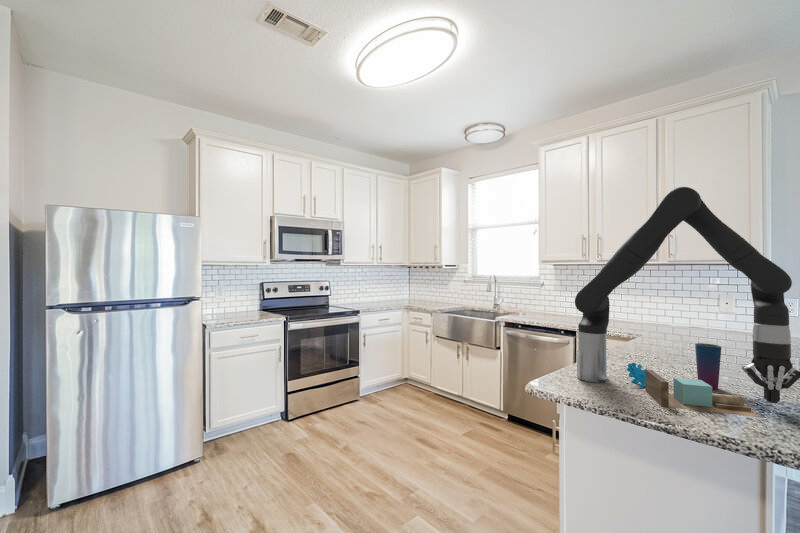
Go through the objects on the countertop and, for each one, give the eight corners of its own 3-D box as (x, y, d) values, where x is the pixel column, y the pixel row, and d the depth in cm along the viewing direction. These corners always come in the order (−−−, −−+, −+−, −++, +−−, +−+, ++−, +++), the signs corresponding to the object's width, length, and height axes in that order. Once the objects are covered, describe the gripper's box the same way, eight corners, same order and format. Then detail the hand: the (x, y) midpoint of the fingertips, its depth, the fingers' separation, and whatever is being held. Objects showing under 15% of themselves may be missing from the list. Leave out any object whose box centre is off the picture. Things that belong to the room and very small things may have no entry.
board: (661, 409, 105) (661, 381, 105) (645, 393, 118) (645, 369, 119) (762, 420, 98) (761, 390, 98) (733, 402, 111) (733, 376, 111)
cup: (726, 394, 119) (726, 347, 119) (702, 392, 120) (702, 346, 121) (713, 387, 126) (713, 343, 126) (690, 386, 127) (690, 342, 127)
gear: (640, 386, 120) (623, 360, 127) (627, 395, 124) (612, 369, 131) (665, 389, 123) (648, 362, 130) (652, 397, 127) (636, 371, 134)
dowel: (710, 403, 106) (708, 392, 107) (706, 403, 109) (704, 393, 110) (745, 406, 104) (742, 395, 105) (739, 407, 106) (737, 396, 107)
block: (683, 404, 106) (683, 384, 106) (673, 396, 113) (673, 377, 113) (712, 407, 104) (712, 386, 104) (700, 399, 111) (700, 379, 111)
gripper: (749, 341, 102) (750, 404, 101) (811, 344, 97) (812, 409, 97) (734, 336, 109) (735, 395, 108) (792, 339, 104) (792, 400, 104)
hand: (772, 402), depth 103 cm, fingers closed
